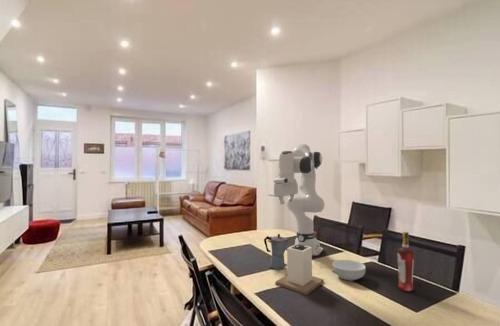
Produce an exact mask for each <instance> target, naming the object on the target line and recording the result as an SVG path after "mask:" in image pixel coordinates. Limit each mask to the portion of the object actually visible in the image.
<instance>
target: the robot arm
mask: <svg viewBox="0 0 500 326" xmlns="http://www.w3.org/2000/svg"><path fill="white" fill-rule="evenodd" d="M322 163H323V156H322V154H321V152H319V151H311V147H310V146H309V145H308V144H306V143H301V144H299V145H297V146H295V147H294V148H293V150H292V151H291V150H284V151H281V152H280V153H279V157H278V168H279V171H278V172H279V173H278V176H277V177H275V178H274V179H273V183H274V184H273V185H274V186H273V194H274V197H277V198H278V199H279V202H280V203H279V204H280V205H284V204H285V200H284V197H287V196H288V198H287V200H286V207H287V209H288V210H289V211H290V212H291V213H292V214H293V216H294V217H295V220H296V227H297V228H296V229H297V231H296V238H295V239H294V240H295V241H294V245H295V244H299V245H304V246H308V247H312V256H319V255H320V254H321V252H323V251H324V248H323V247H321V245H320V241H319V240H318V239H317V238H316V235H317V231H314V229H315V228H314V227H315V226H314V221H313V219H311V217H309V216H307V215H306V214H305V213H321V212H322V211H324V209H325V200H324V199H323V198H322V197H321V196H320V195H318V193H317V191H316V178H317V177H316V176H317V175H316V170H318V168H319V167H320V166H321V165H322ZM295 174H300V178H299V185H298V182H297V179H296V178H295ZM299 191H300V192H302V193H303V194H305V195H298V193H299Z"/></svg>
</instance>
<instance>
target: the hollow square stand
mask: <svg viewBox="0 0 500 326" xmlns="http://www.w3.org/2000/svg"><path fill="white" fill-rule="evenodd" d="M295 245H299V244H295V243H294V245H291V246H289V247H287V248H286V249H287V250H286V256H287V257H286V260H287V261H286V265H287V267H286V272H287V273H286V275H284V276H282V277H281V278H279V279H278V280H275V283H274V284H275V285H276V286H280V287H282V288H285V289H289V290H292V291H293V292H294V291H295V292H298V293H300V294H303V295H309V294H310V293H311V292H313V291H314V290H315V289H316V288H318V287H319V286H320V285H322V284H323V283H324V280H325V279H323V278H320V277H316V276H313V255H312V247H308V246H304V250H303V251H301V250H297V249H295Z"/></svg>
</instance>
